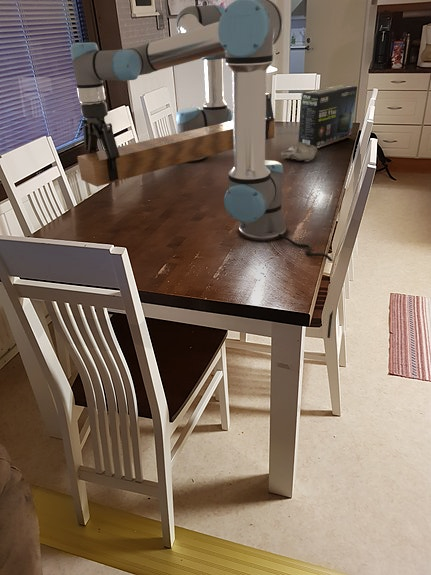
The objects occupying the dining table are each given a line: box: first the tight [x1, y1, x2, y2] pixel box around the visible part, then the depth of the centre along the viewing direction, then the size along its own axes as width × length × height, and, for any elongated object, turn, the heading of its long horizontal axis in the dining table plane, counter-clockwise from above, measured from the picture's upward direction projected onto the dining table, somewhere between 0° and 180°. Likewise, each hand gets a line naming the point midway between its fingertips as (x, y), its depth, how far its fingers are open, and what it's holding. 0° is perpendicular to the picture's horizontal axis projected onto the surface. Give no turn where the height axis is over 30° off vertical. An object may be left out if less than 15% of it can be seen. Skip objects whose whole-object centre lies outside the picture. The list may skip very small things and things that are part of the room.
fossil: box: [280, 141, 318, 163], centre depth 221 cm, size 18×11×15 cm
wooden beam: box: [76, 117, 276, 188], centre depth 164 cm, size 81×10×8 cm, turn 132°
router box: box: [297, 84, 358, 147], centre depth 238 cm, size 36×11×27 cm, turn 134°
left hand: (255, 137), depth 185 cm, fingers closed on wooden beam, 10 cm apart
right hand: (105, 176), depth 146 cm, fingers closed on wooden beam, 10 cm apart
